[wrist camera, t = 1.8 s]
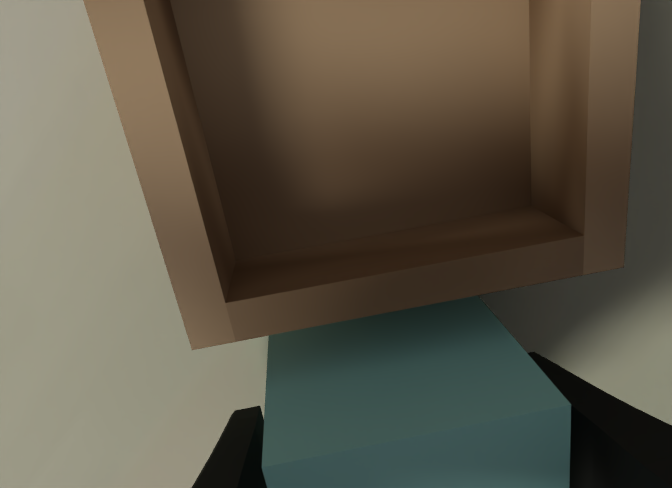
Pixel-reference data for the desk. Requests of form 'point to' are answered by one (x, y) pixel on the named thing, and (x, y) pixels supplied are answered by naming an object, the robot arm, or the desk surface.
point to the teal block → (412, 405)
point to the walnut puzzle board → (371, 149)
